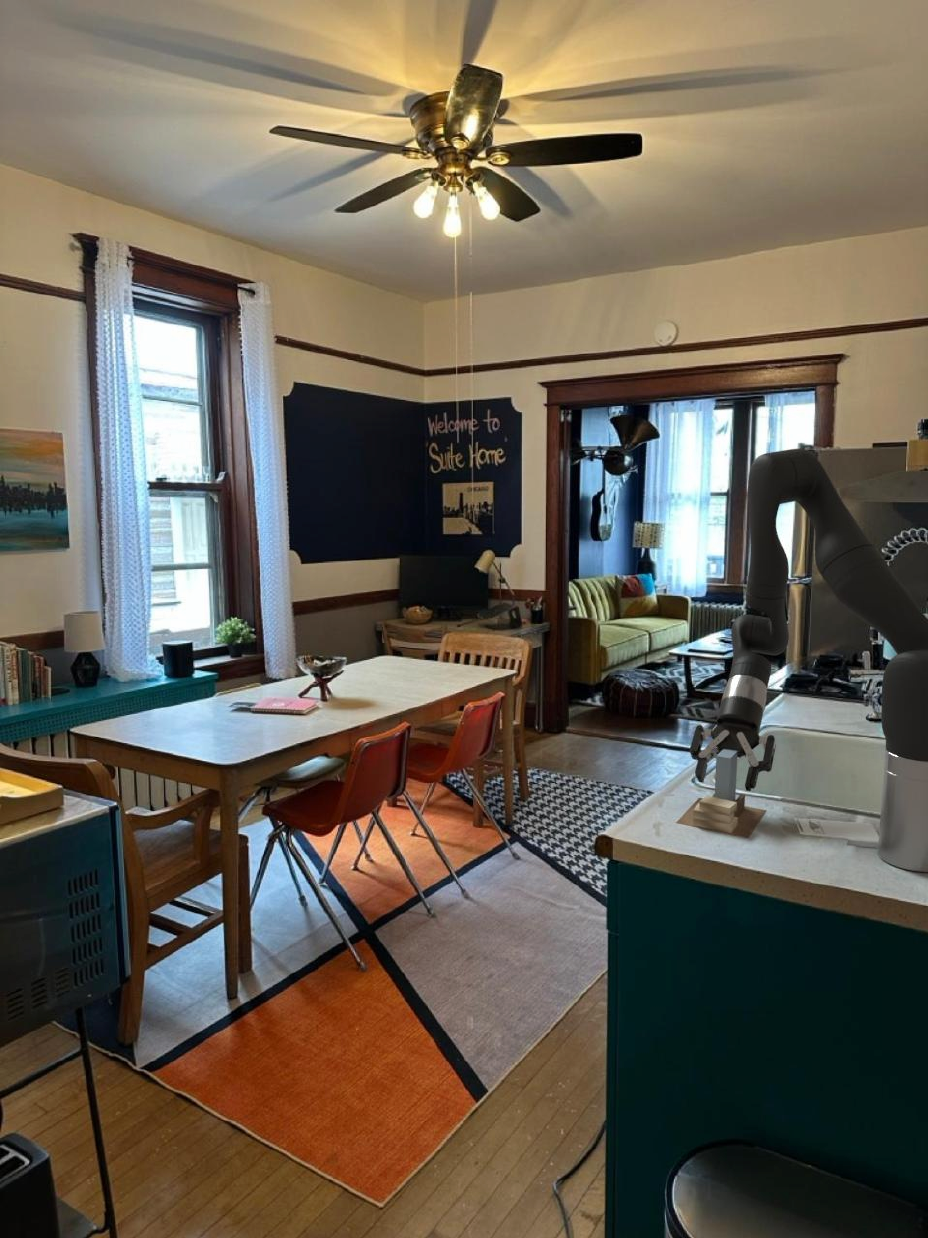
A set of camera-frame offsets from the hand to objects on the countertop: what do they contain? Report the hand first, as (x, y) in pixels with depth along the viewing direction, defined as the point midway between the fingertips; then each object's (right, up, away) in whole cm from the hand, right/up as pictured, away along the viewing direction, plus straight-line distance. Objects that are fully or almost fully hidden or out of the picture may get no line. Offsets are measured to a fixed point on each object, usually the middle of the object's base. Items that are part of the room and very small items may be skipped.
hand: (723, 784), depth 140 cm
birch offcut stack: (-2, -6, -3) cm, 7 cm away
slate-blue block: (+1, -6, +2) cm, 6 cm away
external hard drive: (+17, -8, -4) cm, 20 cm away
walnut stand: (0, -7, +1) cm, 7 cm away
